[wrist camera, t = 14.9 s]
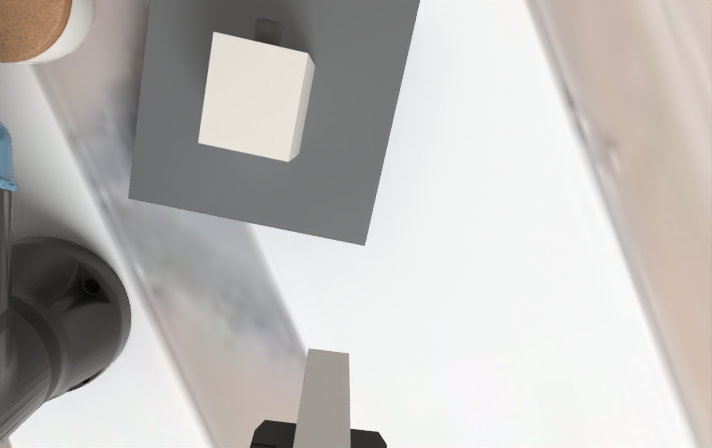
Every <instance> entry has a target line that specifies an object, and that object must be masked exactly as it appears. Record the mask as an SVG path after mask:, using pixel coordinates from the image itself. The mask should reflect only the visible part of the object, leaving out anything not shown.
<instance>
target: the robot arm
mask: <svg viewBox="0 0 712 448" xmlns="http://www.w3.org/2000/svg"><path fill="white" fill-rule="evenodd" d="M14 191H17V184H16V183H15V182H14V181H13V169H12V147H11V137H10V134H9V132H8V130H7V129H6V127H5V126H4V125H3V124H2V122H1V121H0V445H1V443H3V442H4V441H5V440H6V439H7V438H8V437H9V436H10V435H11V434H12V433H13V432H14V431H15V430H16V429H17V428H18V427H19V426H20V425H21V424H22V423H23V422H24V421H25V420H26V419H28V418H29V417H30V416H31V415H32V414H33V413H34V412H35V411H36V410H37V409H38V408H39V407H40V406H41V405H42V404H43V403H44V402H47V401H49V400H52V399H54V398H56V397H59V396H61V395H63V394H65V393H66V392H69V391H72V390H75V389H77V388H80V387H82V386H84V385H86V384H88V383H90V382H91V381H93V380H94V379H96V378H97V377H98V376H100V375H101V374H102V373H103V372H104V371H105V370H106V369H107V368H108V367H109V366H110V365H111V364H112V363H113V362H114V361H115V360H116V359H117V357H118V356H119V355H120V353H121V352H122V350H123V348H124V347H125V344H126V342H127V339H128V337H129V333H130V327H131V311H130V305H129V301H128V297H127V294H126V292H125V290H124V288H123V286H122V284H121V282H120V280H119V279H118V277H117V276H116V274H115V273H114V272H113V271H112V270H111V268H110V267H109V266H108V265H107V264H106V263H105V262H104V261H102V260H101V259H100V258H99V257H98V256H96V255H95V254H93V253H92V252H90V251H89V250H87V249H85V248H83V247H81V246H79V245H77V244H74V243H71V242H68V241H65V240H61V239H55V238H47V237H37V238H28V239H23V240H19V241H16V242H13V213H14ZM250 448H387V444H386V443H385V441H384V440H383V438H382V437H381V435H380V434H379V432H374V431H365V430H357V429H350V386H349V354H348V353H340V352H332V351H324V350H316V349H309V350H308V356H307V362H306V369H305V375H304V381H303V388H302V394H301V400H300V407H299V413H298V419H297V424H295V423H287V422H278V421H270V420H264V421H263V422H262V423H261V424H260V426H259V427H258V428H257V429H256V430H255V432H254V435H253V439H252V442H251V446H250Z"/></svg>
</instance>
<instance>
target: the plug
mask: <svg viewBox="0 0 712 448" xmlns="http://www.w3.org/2000/svg"><path fill="white" fill-rule="evenodd" d="M283 27H284V25H283V24H281V23H279V22H276V21H273V20H269V19H264V18H257V19H256V25H255V32H254V38H253V41H252V40H248V39H243V38H239V37H235V36H230V35H226V34H221V33H217V32H213V40H212V47H211V54H210V61H209V68H208V75H207V83H206V90H205V97H204V104H203V111H202V118H201V126H200V133H199V140H198V143H201V144H206V145H210V146H215V147H220V148H225V149H229V150H234V151H239V152H244V153H248V154H253V155H258V156H263V157H267V158H272V159H277V160H282V161H286V162H289V161H290V160H292V159H293V158H294V157H296V156H297V155H298V154H299V150H300V145H301V139H302V134H303V129H304V123H305V118H306V113H307V107H308V102H309V96H310V91H311V86H312V80H313V75H314V70H315V65H314V63H313V61H312V59H311V58H310V56H309V54H308V53H305V52H300V51H296V50H292V49H287V48H283V47H280V45H281V39H282V33H283Z"/></svg>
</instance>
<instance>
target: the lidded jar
mask: <svg viewBox="0 0 712 448" xmlns="http://www.w3.org/2000/svg"><path fill="white" fill-rule="evenodd" d="M94 16H95V0H0V62H1V63H19V64H38V63H45V62H50V61H55V60H58V59H60V58H63V57H65V56H67V55H68V54H70V53H72V52H73V51H75V50H76V49H77V48H78V47H79V46H81V44H82V43H83V42H84V41H85V40H86V38H87V36H88V34H89V33H90V31H91V28H92V25H93V21H94Z"/></svg>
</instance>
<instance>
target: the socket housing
mask: <svg viewBox="0 0 712 448" xmlns="http://www.w3.org/2000/svg"><path fill="white" fill-rule="evenodd" d="M419 3H420V0H150V6H149V16H148V25H147V34H146V43H145V52H144V61H143V70H142V79H141V88H140V97H139V106H138V115H137V124H136V133H135V142H134V151H133V160H132V169H131V178H130V187H129V197H128V198H129V199H134V200H139V201H144V202H149V203H154V204H159V205H164V206H169V207H174V208H179V209H184V210H189V211H194V212H199V213H204V214H209V215H214V216H219V217H224V218H229V219H233V220H238V221H243V222H248V223H253V224H258V225H263V226H268V227H273V228H278V229H283V230H288V231H293V232H298V233H303V234H308V235H313V236H318V237H323V238H328V239H333V240H338V241H343V242H348V243H353V244H358V245H363V246H365V242H366V238H367V233H368V229H369V225H370V220H371V216H372V211H373V207H374V202H375V198H376V193H377V189H378V185H379V180H380V176H381V171H382V167H383V162H384V158H385V153H386V149H387V145H388V140H389V136H390V131H391V127H392V122H393V118H394V114H395V109H396V105H397V100H398V96H399V91H400V87H401V82H402V78H403V74H404V69H405V65H406V60H407V56H408V51H409V47H410V43H411V38H412V34H413V29H414V25H415V20H416V16H417V11H418V7H419ZM257 18H264V19H269V20H273V21H276V22H279V23H281V24H283V25H284V27H283V33H282V39H281V45H280V47H283V48H287V49H292V50H296V51H300V52H305V53H308V54H309V56H310V58H311V59H312V61H313V63H314V65H315V70H314V75H313V80H312V86H311V91H310V96H309V102H308V107H307V113H306V118H305V123H304V129H303V134H302V139H301V145H300V150H299V154H298V155H297V156H296V157H294V158H293V159H292V160H290V161H289V162H286V161H282V160H277V159H272V158H267V157H263V156H258V155H253V154H248V153H244V152H239V151H234V150H229V149H225V148H220V147H215V146H210V145H206V144H201V143H198V140H199V133H200V126H201V118H202V111H203V104H204V97H205V90H206V83H207V75H208V68H209V61H210V54H211V47H212V40H213V32H217V33H221V34H226V35H230V36H235V37H239V38H243V39H248V40H252V41H253V38H254V32H255V25H256V19H257Z"/></svg>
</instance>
